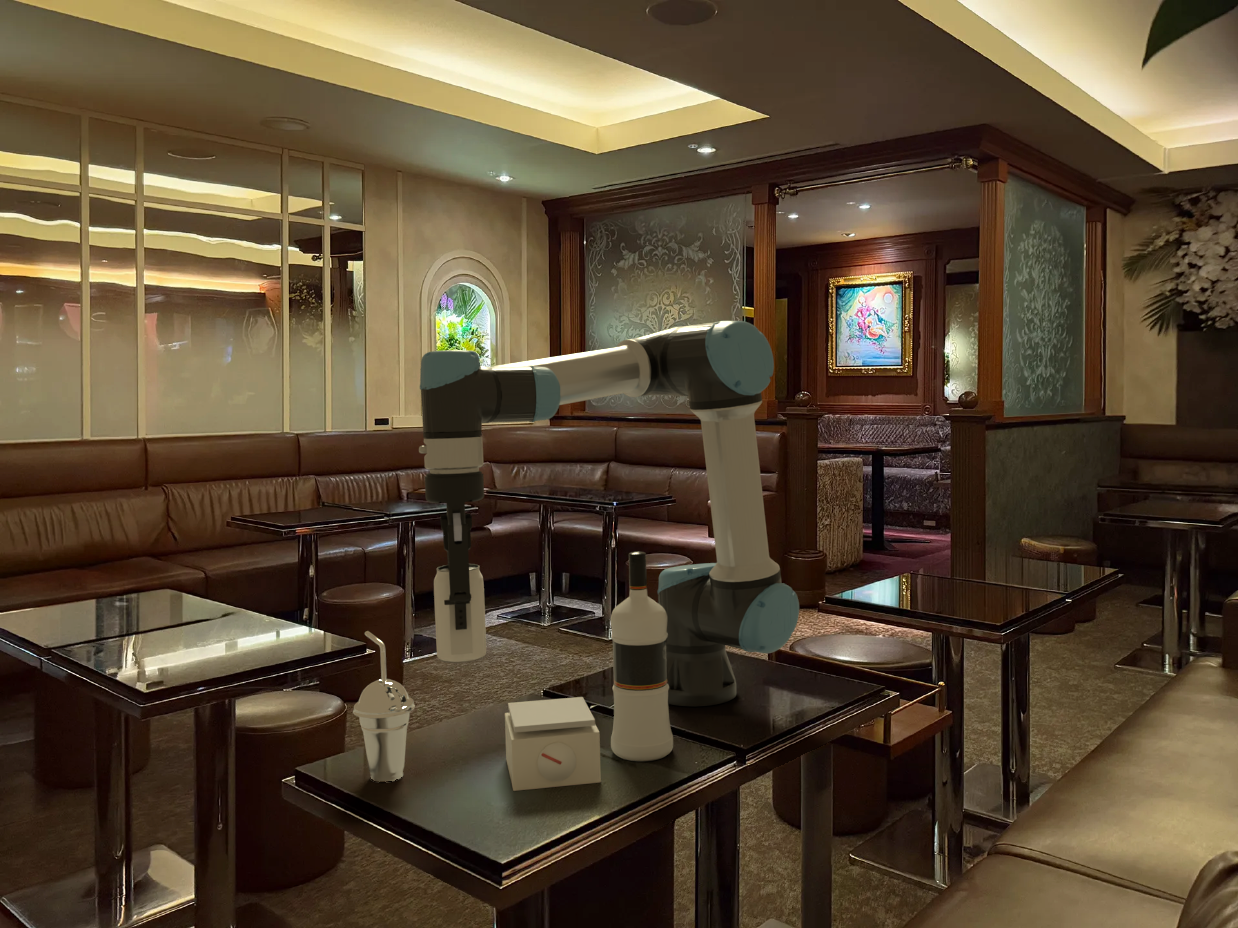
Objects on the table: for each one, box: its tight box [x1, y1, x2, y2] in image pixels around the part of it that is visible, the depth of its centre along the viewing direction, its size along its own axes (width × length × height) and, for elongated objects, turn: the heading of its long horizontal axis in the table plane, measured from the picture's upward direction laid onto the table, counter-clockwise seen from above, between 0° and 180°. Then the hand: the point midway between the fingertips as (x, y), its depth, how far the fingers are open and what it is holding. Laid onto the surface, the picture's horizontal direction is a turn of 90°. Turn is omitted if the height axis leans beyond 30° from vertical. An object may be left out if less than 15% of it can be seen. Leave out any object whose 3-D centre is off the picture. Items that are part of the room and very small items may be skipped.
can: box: [433, 563, 487, 664], centre depth 129 cm, size 6×6×12 cm
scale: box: [504, 696, 602, 792], centre depth 139 cm, size 12×13×9 cm
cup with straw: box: [352, 630, 416, 783], centre depth 139 cm, size 8×9×20 cm
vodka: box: [610, 550, 674, 763], centre depth 145 cm, size 9×9×30 cm
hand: (461, 647), depth 129 cm, fingers closed on can, 4 cm apart
